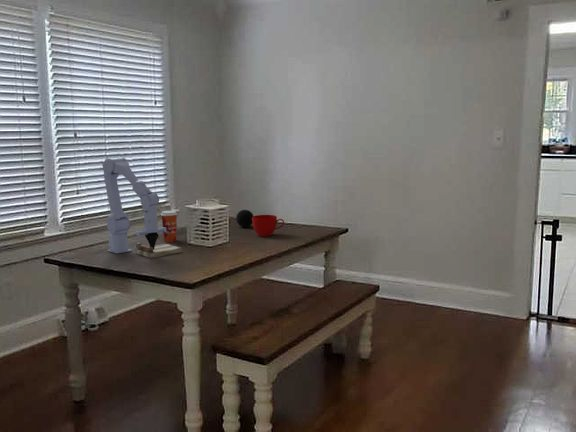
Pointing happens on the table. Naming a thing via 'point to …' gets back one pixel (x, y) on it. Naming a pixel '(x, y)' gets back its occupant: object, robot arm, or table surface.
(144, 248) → the folding leg
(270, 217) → the ceramic cup
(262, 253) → the table surface
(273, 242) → the table surface
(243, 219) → the decorative ball
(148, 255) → the cream flat block
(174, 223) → the coffee cup
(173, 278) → the table surface
